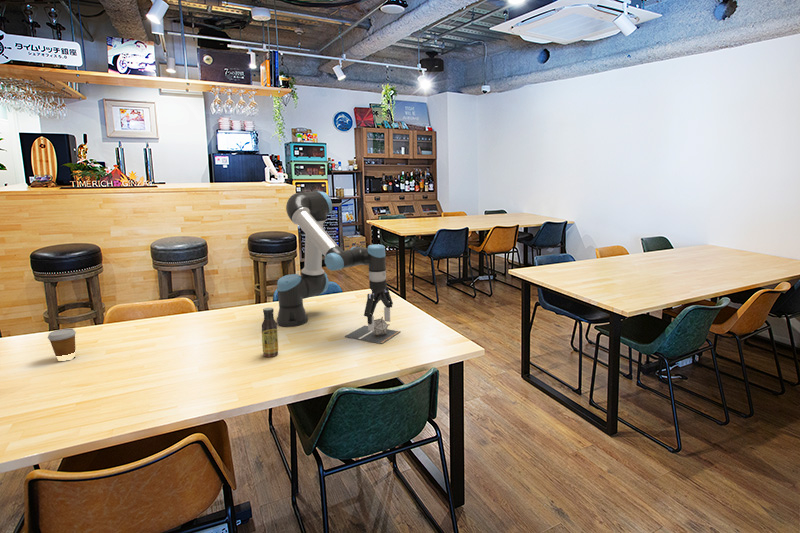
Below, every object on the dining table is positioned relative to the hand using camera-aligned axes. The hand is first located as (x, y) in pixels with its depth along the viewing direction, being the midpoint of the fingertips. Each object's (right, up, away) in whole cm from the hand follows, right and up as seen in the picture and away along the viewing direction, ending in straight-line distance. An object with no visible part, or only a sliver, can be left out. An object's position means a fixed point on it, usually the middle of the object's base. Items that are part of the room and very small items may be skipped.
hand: (379, 325), depth 205 cm
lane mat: (-3, -4, +3) cm, 6 cm away
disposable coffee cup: (-131, -12, -13) cm, 132 cm away
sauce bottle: (-44, -10, -16) cm, 48 cm away
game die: (0, -5, +1) cm, 5 cm away
